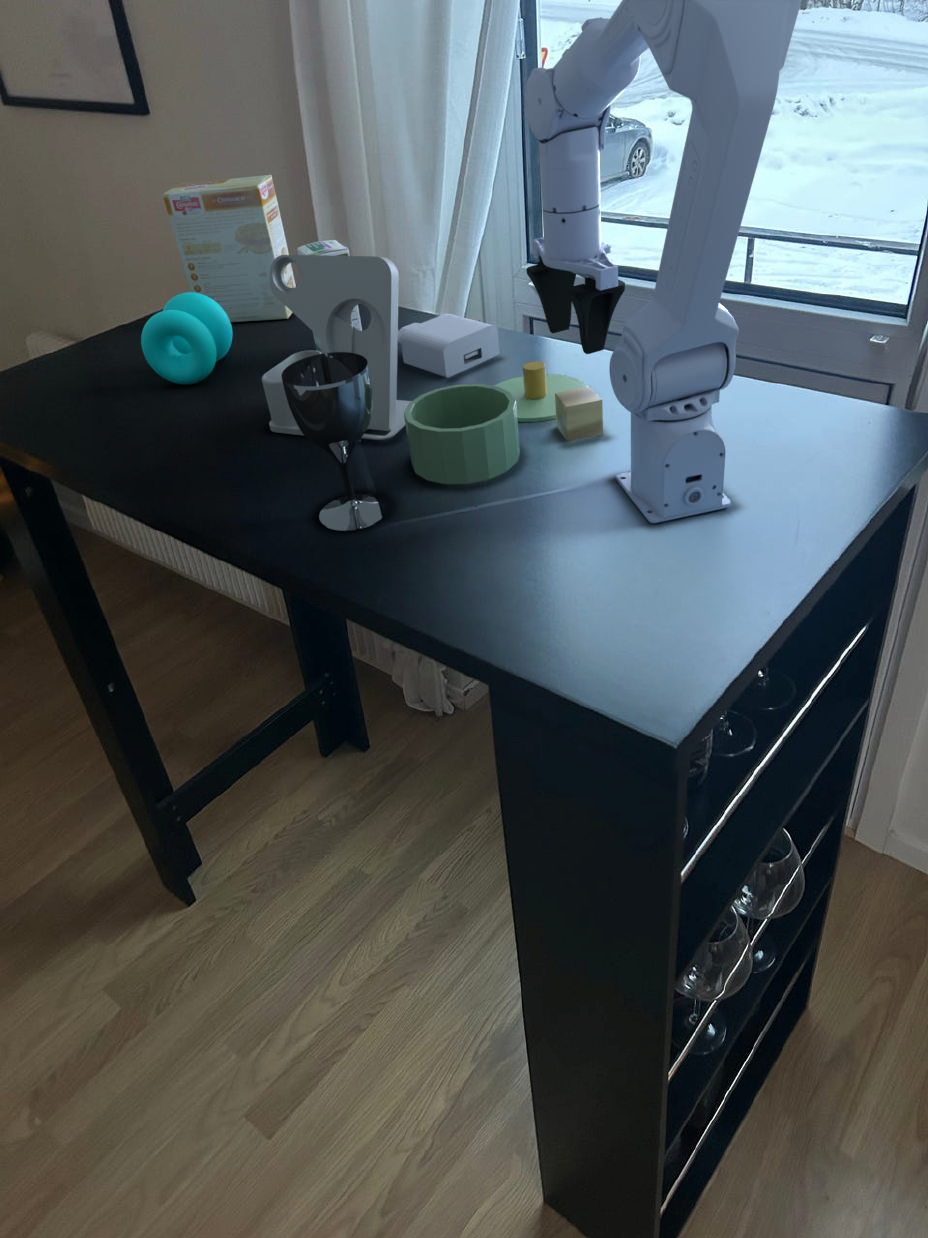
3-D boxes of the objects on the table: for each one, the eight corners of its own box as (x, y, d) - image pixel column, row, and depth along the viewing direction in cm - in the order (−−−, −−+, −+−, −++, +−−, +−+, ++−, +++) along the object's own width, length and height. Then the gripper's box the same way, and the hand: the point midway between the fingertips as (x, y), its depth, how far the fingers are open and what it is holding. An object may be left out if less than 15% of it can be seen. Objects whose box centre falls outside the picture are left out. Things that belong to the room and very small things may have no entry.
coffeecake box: (301, 304, 148) (273, 173, 137) (288, 319, 143) (258, 184, 131) (213, 310, 151) (179, 181, 139) (198, 325, 145) (160, 193, 134)
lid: (604, 413, 104) (603, 374, 101) (498, 435, 103) (494, 395, 100) (570, 374, 114) (568, 337, 111) (473, 393, 113) (469, 356, 110)
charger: (427, 336, 130) (500, 358, 121) (376, 357, 126) (447, 382, 116) (423, 302, 128) (497, 322, 118) (370, 323, 123) (442, 345, 113)
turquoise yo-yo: (243, 357, 132) (224, 286, 126) (221, 385, 124) (200, 311, 118) (177, 361, 133) (155, 292, 127) (151, 390, 125) (127, 317, 119)
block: (603, 438, 99) (602, 399, 97) (567, 446, 99) (566, 406, 96) (591, 424, 102) (590, 385, 100) (556, 431, 102) (554, 392, 99)
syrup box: (315, 353, 130) (293, 246, 121) (354, 343, 131) (335, 237, 123) (328, 365, 125) (305, 255, 117) (368, 354, 127) (349, 245, 118)
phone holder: (263, 430, 111) (223, 278, 100) (308, 396, 118) (276, 250, 107) (388, 445, 104) (360, 282, 93) (429, 407, 111) (407, 252, 100)
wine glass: (354, 485, 97) (326, 346, 88) (409, 503, 92) (386, 359, 84) (298, 519, 92) (263, 377, 83) (354, 540, 88) (322, 392, 79)
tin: (532, 475, 94) (528, 417, 91) (424, 497, 93) (415, 439, 89) (504, 430, 104) (499, 376, 100) (405, 450, 102) (396, 395, 98)
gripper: (646, 210, 86) (644, 351, 94) (572, 185, 97) (576, 313, 105) (579, 226, 84) (583, 368, 92) (511, 199, 95) (521, 328, 103)
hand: (576, 340), depth 99 cm, fingers open, 7 cm apart
